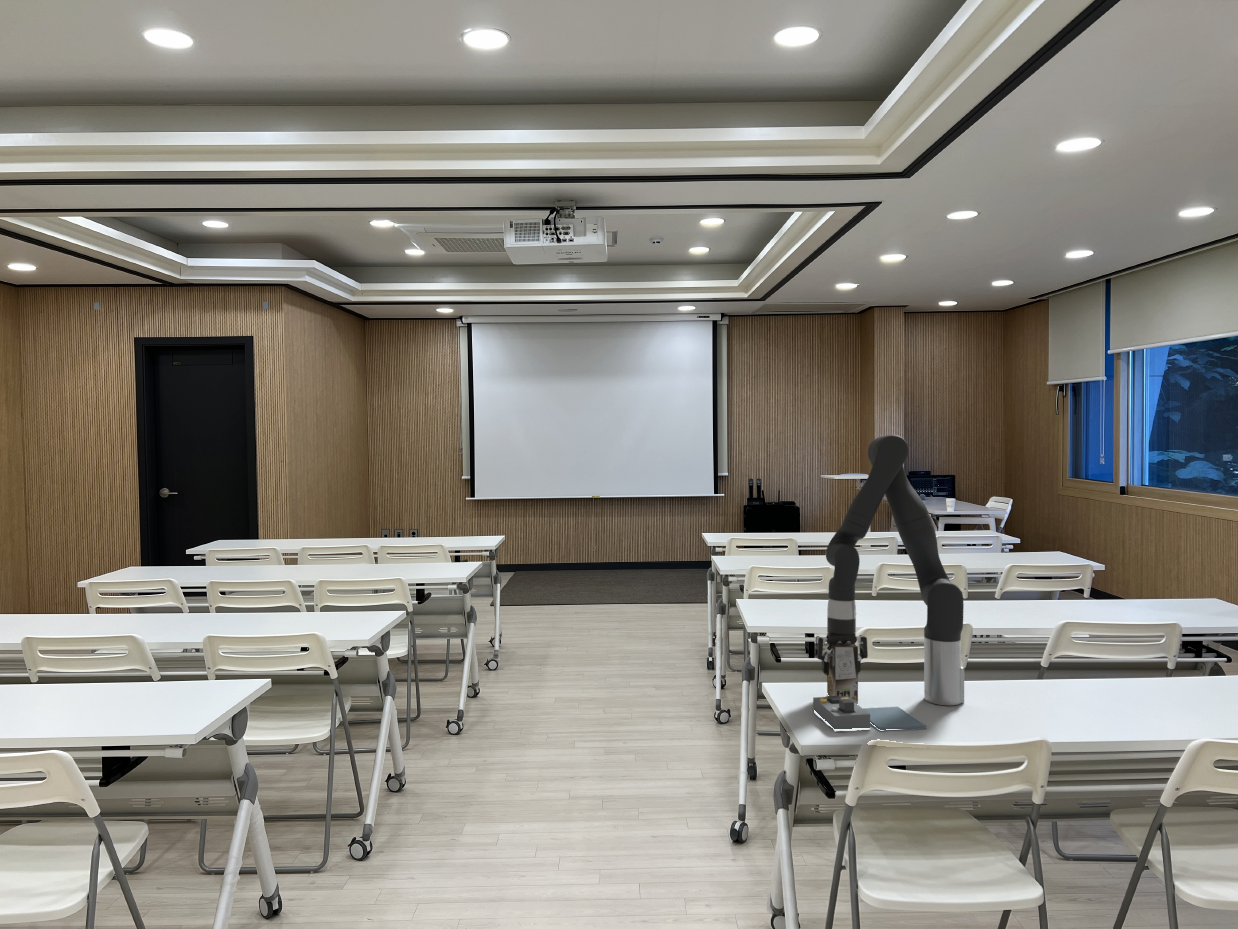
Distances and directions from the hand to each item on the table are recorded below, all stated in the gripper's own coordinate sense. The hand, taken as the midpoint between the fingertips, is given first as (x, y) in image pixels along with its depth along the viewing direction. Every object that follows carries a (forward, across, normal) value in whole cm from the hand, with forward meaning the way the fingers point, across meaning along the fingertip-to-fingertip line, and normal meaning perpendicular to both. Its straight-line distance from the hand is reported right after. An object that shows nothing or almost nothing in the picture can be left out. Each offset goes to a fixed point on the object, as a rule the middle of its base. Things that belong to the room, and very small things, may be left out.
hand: (840, 674), depth 205 cm
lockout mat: (+7, -6, +16) cm, 19 cm away
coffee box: (+8, 0, 0) cm, 8 cm away
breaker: (+4, +7, +19) cm, 20 cm away
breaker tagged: (+5, +7, +12) cm, 15 cm away
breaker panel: (+7, +6, +15) cm, 18 cm away
